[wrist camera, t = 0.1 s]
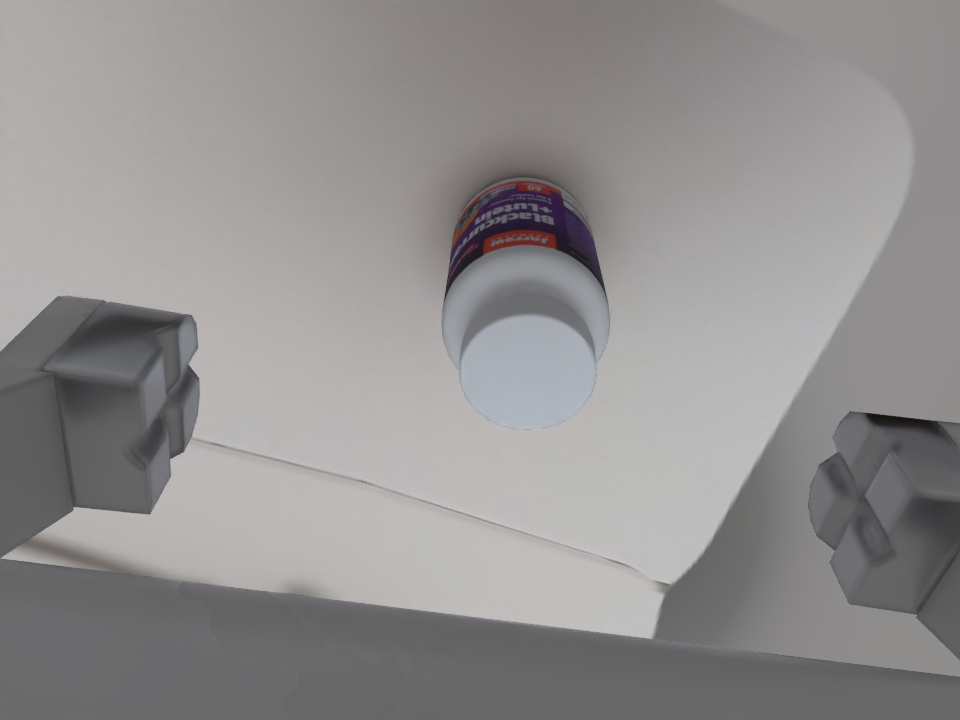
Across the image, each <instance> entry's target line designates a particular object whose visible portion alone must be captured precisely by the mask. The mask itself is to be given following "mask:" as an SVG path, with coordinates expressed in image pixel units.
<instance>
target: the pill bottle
mask: <svg viewBox="0 0 960 720" xmlns="http://www.w3.org/2000/svg"><path fill="white" fill-rule="evenodd" d="M609 330H610V314H609V306H608V301H607V296H606V292H605V287H604V283H603V278H602V274H601V270H600V265H599V261H598V257H597V252H596V248H595V243H594V239H593V234H592V230H591V227H590V224H589V221H588V219H587V216H586V214H585V212H584V211H583V209H582V207H581V206H580V204H579V203H578V202H577V201H576V200H575V199H574V198H573V197H572V196H571V195H570V194H569V193H568V192H566V191H565V190H563V189H562V188H560V187H558V186H557V185H555V184H552V183H550V182H547V181H544V180H541V179H536V178H526V177H520V178H511V179H507V180H503V181H500V182H497V183H495V184H492V185H490V186H488V187H487V188H485V189H484V190H482V191H481V192H479V193H478V194H477V195H476V196H475V197H474V198H473V199H472V200H471V201H470V202H469V203H468V204H467V206H466V207H465V208H464V210H463V211H462V213H461V215H460V217H459V219H458V221H457V224H456V227H455V231H454V236H453V241H452V249H451V257H450V265H449V272H448V279H447V286H446V292H445V298H444V305H443V311H442V334H443V340H444V344H445V347H446V350H447V352H448V354H449V356H450V358H451V360H452V362H453V363H454V365H455V366H456V368H457V369H458V370H459V376H460V383H461V386H462V389H463V392H464V394H465V396H466V398H467V400H468V401H469V403H470V404H471V405H472V406H473V407H474V409H475V410H476V411H477V412H478V413H480V414H481V415H482V416H484V417H485V418H486V419H488V420H490V421H491V422H493V423H496V424H498V425H501V426H504V427H507V428H511V429H519V430H538V429H543V428H548V427H551V426H555V425H557V424H559V423H561V422H564V421H565V420H567V419H569V418H570V417H572V416H573V415H575V414H576V413H577V412H578V411H579V410H580V409H581V408H582V407H583V406H584V405H585V403H586V402H587V400H588V399H589V397H590V396H591V394H592V392H593V389H594V386H595V382H596V376H597V365H596V364H597V363H598V361H599V360H600V358H601V356H602V354H603V352H604V350H605V347H606V344H607V341H608V336H609Z"/></svg>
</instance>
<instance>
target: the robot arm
mask: <svg viewBox="0 0 960 720" xmlns="http://www.w3.org/2000/svg"><path fill="white" fill-rule="evenodd" d="M197 349H198V338H197V324H196V322H195V320H194V318H193V317H192V315H187V314H181V313H175V312H169V311H163V310H157V309H150V308H144V307H138V306H132V305H126V304H120V303H114V302H106V301H104V300H97V299H89V298H81V297H73V296H58V297H56V298H55V299H54V300H53V301H52V302H51V303H50V304H49V305H48V306H47V307H46V308H45V309H44V310H43V311H42V312H41V313H40V314H39V315H38V316H37V317H35V318H34V319H33V320H32V321H31V322H30V323H29V324H28V325H27V326H26V327H25V328H24V329H23V330H22V331H21V332H20V333H19V334H18V335H17V336H16V337H15V338H14V339H13V340H12V341H11V342H10V343H9V344H8V345H7V346H6V347H5V348H4V349H3V350H2V351H1V352H0V558H1V557H3V556H4V555H6V554H7V553H9V552H10V551H12V550H13V549H15V548H16V547H18V546H19V545H21V544H23V543H24V542H26V541H27V540H29V539H30V538H32V537H33V536H35V535H36V534H38V533H39V532H41V531H43V530H44V529H46V528H47V527H49V526H50V525H52V524H53V523H55V522H56V521H58V520H59V519H61V518H63V517H64V516H66V515H67V514H69V513H70V512H72V511H73V507H81V508H91V509H101V510H111V511H121V512H131V513H140V514H151V512H152V510H153V508H154V506H155V504H156V503H157V501H158V499H159V497H160V495H161V493H162V492H163V490H164V488H165V486H166V484H167V482H168V481H169V479H170V477H171V470H170V459H171V458H173V457H175V456H177V455H179V454H181V453H183V452H184V451H185V449H186V447H187V445H188V443H189V441H190V439H191V437H192V434H193V430H194V426H195V423H196V419H197V415H198V407H199V397H200V388H199V378H198V376H197V375H196V374H195V372H194V371H193V370H192V369H191V367H190V366H189V365H188V364H189V362H190V360H191V359H192V357H193V355H194V354H195V352H196V350H197ZM833 440H834V443H835V447H836V450H837V453H836V454H834V455H833V456H831V457H830V458H828V459H827V460H825V461H824V462H822V463H821V464H819V466H818V468H817V471H816V473H815V475H814V477H813V480H812V482H811V484H810V492H809V501H808V509H809V515H810V521H811V523H812V526H813V528H814V530H815V532H816V535H817V536H818V537H819V538H820V539H821V540H822V541H824V542H825V543H826V544H827V545H829V546H830V547H831V548H832V549H833V550H835V552H834V554H833V556H832V558H831V560H830V565H831V567H832V569H833V571H834V573H835V575H836V577H837V580H838V582H839V584H840V586H841V588H842V590H843V592H844V594H845V597H846V599H847V601H848V603H849V604H852V605H859V606H865V607H872V608H878V609H885V610H891V611H897V612H904V613H911V614H917V617H916V618H917V619H918V620H919V621H921V623H922V624H923V625H924V626H925V627H926V628H928V630H930V631H931V632H932V633H933V634H934V635H935V636H936V637H937V638H938V639H939V640H940V641H941V642H942V643H943V644H944V645H945V646H946V647H947V648H948V649H949V650H950V651H951V652H952V653H953V654H954V655H955V656H956V657H957V658H958V659H960V423H950V422H941V421H931V420H922V419H914V418H905V417H896V416H887V415H880V414H871V413H863V412H851V411H850V412H849V413H848V414H847V415H846V416H845V417H844V418H843V419H842V420H841V421H840V423H839V425H838V427H837V429H836V431H835V433H834V435H833ZM0 720H960V677H955V676H947V675H940V674H931V673H924V672H916V671H907V670H898V669H891V668H883V667H875V666H867V665H859V664H850V663H842V662H834V661H826V660H818V659H809V658H802V657H793V656H785V655H777V654H769V653H761V652H753V651H745V650H736V649H729V648H720V647H712V646H704V645H696V644H688V643H680V642H671V641H663V640H655V639H647V638H639V637H631V636H623V635H615V634H607V633H599V632H591V631H582V630H574V629H566V628H558V627H550V626H542V625H534V624H526V623H518V622H510V621H501V620H493V619H485V618H477V617H469V616H461V615H453V614H445V613H437V612H429V611H420V610H412V609H404V608H396V607H388V606H380V605H372V604H364V603H356V602H348V601H340V600H331V599H323V598H315V597H307V596H299V595H291V594H283V593H275V592H267V591H259V590H250V589H242V588H234V587H226V586H218V585H210V584H202V583H194V582H186V581H178V580H169V579H161V578H153V577H145V576H137V575H129V574H121V573H113V572H105V571H97V570H88V569H80V568H72V567H64V566H56V565H48V564H40V563H32V562H24V561H16V560H7V559H0Z"/></svg>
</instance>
